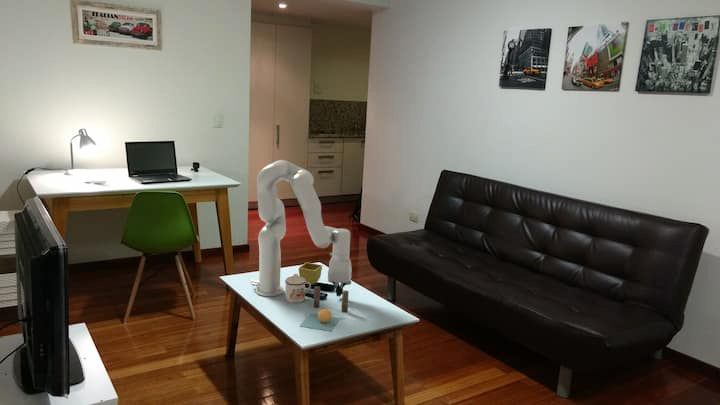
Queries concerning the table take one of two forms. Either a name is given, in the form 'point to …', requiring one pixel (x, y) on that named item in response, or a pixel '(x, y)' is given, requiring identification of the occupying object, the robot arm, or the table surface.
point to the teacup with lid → (296, 288)
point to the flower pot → (310, 272)
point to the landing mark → (319, 323)
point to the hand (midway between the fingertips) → (339, 295)
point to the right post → (345, 301)
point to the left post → (316, 297)
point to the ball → (324, 315)
